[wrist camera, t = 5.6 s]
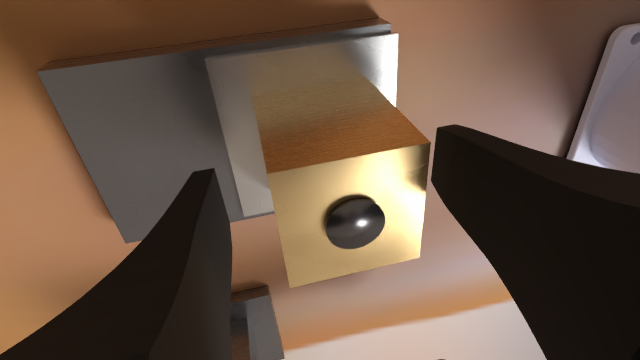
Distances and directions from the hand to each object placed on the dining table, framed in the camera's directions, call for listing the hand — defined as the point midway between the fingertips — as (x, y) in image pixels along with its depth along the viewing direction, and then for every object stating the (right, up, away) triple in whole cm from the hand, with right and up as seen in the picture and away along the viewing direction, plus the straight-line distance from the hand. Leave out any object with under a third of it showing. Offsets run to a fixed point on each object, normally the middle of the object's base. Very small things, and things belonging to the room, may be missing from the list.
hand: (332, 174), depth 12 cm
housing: (-1, +1, +2) cm, 3 cm away
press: (-3, -3, +6) cm, 8 cm away
